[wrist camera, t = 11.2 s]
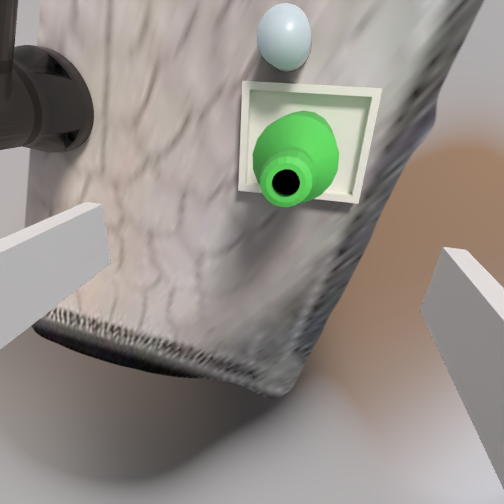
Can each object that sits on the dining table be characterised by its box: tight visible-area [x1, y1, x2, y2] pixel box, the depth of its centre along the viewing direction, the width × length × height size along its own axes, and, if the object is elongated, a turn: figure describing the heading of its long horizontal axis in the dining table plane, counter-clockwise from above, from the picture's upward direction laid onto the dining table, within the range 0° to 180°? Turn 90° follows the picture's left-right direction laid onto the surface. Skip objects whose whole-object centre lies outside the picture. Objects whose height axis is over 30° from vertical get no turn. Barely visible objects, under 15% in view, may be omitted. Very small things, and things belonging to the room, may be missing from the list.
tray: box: [238, 81, 382, 204], centre depth 46 cm, size 18×15×2 cm
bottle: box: [252, 110, 339, 207], centre depth 35 cm, size 9×9×25 cm
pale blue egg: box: [257, 3, 312, 71], centre depth 39 cm, size 6×6×7 cm
